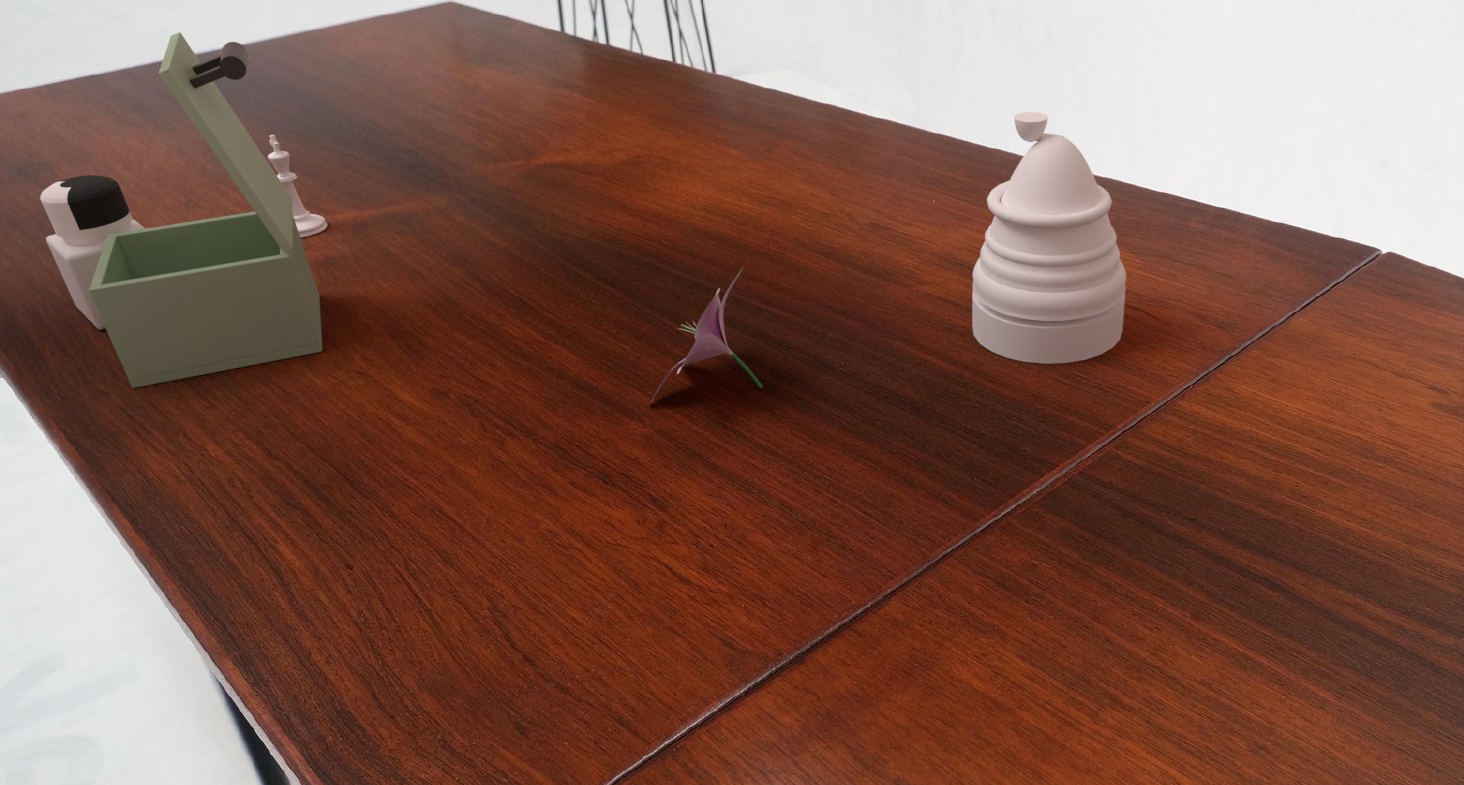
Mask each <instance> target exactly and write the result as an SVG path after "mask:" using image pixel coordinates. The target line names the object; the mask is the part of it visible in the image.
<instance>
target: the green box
mask: <svg viewBox="0 0 1464 785" xmlns="http://www.w3.org/2000/svg"><path fill="white" fill-rule="evenodd" d="M292 224H293V249H291V250H289V251H287V252H283V251H282V250H281V248H280V247H279V245H278V244H277V242H276V241H275V240H274V238H273V237H272V235H271V234H270V232H269V231H268V230H267V228H266V227H265V225H264V224H263V222H262V221H261V220H260V218H259V217H258V215H257V214H256V212H255V211H249V212H244V213H243V212H242V213H237V214H230V215H223V216H219V217H218V216H217V217H210V218H205V219H199V220H193V221H191V220H190V221H185V222H179V223H174V224H173V223H172V224H167V225H161V226H160V225H159V226H153V227H148V228H145V229H140V230H134V231H128V232H121V233H115V234H108V235H107V237H106V240H105V243H104V246H103V249H102V252H101V255H100V258H99V261H98V264H97V267H96V271H95V274H94V277H93V280H92V283H91V286H90V288H89V292H90V294H91V297H92V299H93V301H94V303H95V306H96V308H97V310H98V312H99V315H100V317H101V319H102V321H103V323H104V326H105V328H106V329H105V330H106V332H107V335H108V337H109V339H110V341H111V343H112V346H113V348H114V350H115V353H116V355H117V357H118V360H119V362H120V364H121V366H122V368H123V370H124V373H125V375H126V377H127V379H128V382H129V384H130V386H131V388H132V389H136V388H142V387H147V386H152V385H156V384H162V383H166V382H171V381H172V382H173V381H177V380H181V379H187V378H192V377H193V378H194V377H198V376H204V375H208V374H213V373H219V372H224V371H229V370H234V369H235V370H236V369H239V368H246V367H249V366H254V365H260V364H265V363H271V362H275V361H281V360H285V359H290V358H295V357H296V358H297V357H301V356H306V355H311V354H316V353H321V352H323V338H322V337H323V336H322V319H321V318H322V317H321V300H320V298H321V297H320V293H319V290H318V287H317V283H316V281H315V277H314V275H313V271H312V268H311V266H310V263H309V259H308V256H307V253H306V250H305V247H304V245H303V241H302V238H300V235H299V232H298V229H297V226H296V223H295V220H294V217H293V214H292Z"/></svg>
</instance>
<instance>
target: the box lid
mask: <svg viewBox="0 0 1464 785" xmlns="http://www.w3.org/2000/svg"><path fill="white" fill-rule="evenodd" d="M248 56H249V54H248V51H247V49H246V47H245V46H244V45H243V44H241V43H239V42H237V41H229V42H227V43H225V44H224V45H223V47H222V50H221V54H219V55H216V56H214V57H212V58H209V59H206V60H204V61H200V59H199V58H198V57H197V55H196V53H195V52H194V51H193V49H192V48H191V46H190V44H189V43H188V42H187V40H186V38H185V37H184V36H183V34H182V32H180V31H179V32H176V33H174V34H172V35H170V38H169V41H168V43H167V46H166V50H165V52H164V55H163V59H162V61H161V65H160V68H159V70H158V75H159V77H160V78H161V80H162V81H163V82H164V84H165V85H166V87H167V88H168V89H169V91H170V92H171V94H172V95H173V97H174V98H175V99H176V101H177V102H178V104H179V105H180V107H181V108H182V110H183V111H184V112H185V114H186V115H187V117H188V119H189V120H190V121H191V122H192V124H193V125H194V127H195V128H196V130H197V131H198V132H199V134H200V135H201V137H202V138H203V140H204V141H205V142H206V144H207V145H208V148H210V149H211V151H212V152H213V154H214V156H215V157H216V158H217V160H218V161H219V163H220V164H221V165H222V167H223V168H224V170H225V171H226V172H227V174H228V176H229V177H230V178H231V180H232V181H233V183H234V184H235V185H236V187H237V188H238V190H239V191H240V193H241V194H242V196H243V197H244V198H245V200H246V201H247V203H248V204H249V205H250V207H251V208H252V209H253V212H256V214H257V215H258V217H259V218H260V220H261V221H262V222H263V224H264V225H265V227H266V228H267V230H268V231H269V232H270V234H271V235H272V237H273V238H274V240H275V241H276V242H277V244H278V245H279V247H280V248H281V250H282V251H283V252H287V251H289V250H291V249H293V224H292V198H291V196H290V195H289V193H288V192H287V190H286V189H285V187H284V186H283V184H282V183H281V181H280V180H279V178H278V177H277V175H278V174H276V172H275V171H274V169H273V168H272V166H271V165H270V163H269V162H268V160H267V159H266V158H265V156H264V155H263V153H262V151H261V150H260V148H259V147H258V146H257V144H256V143H255V141H254V140H253V138H252V137H251V135H250V134H249V132H248V131H247V129H246V128H245V126H244V125H243V123H242V121H241V120H240V119H239V117H238V116H237V114H236V113H235V111H234V110H233V108H232V107H231V106H230V104H229V103H228V100H226V98H225V96H224V94H223V93H222V92H221V90H220V89H219V88H218V86H217V85H216V83H215V81H217V80H219V79H222V78H224V77H225V78H227V79H229V80H232V81H238V80H241V79H242V78H244V77H245V76H246V73H247V68H248V67H247V65H248V58H249V57H248Z"/></svg>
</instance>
